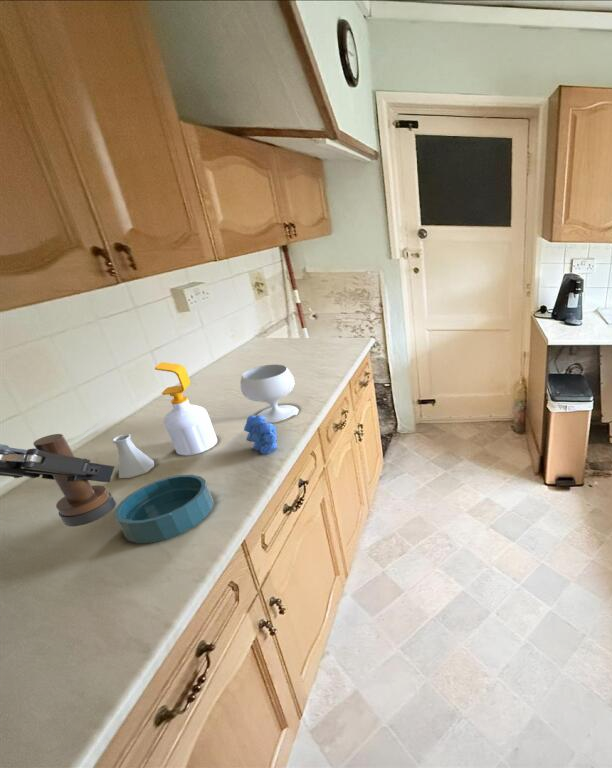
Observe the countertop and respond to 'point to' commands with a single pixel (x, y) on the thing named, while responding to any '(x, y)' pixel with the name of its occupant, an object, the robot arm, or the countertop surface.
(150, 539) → the bowl
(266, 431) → the grapes
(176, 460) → the countertop surface
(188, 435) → the soap bottle
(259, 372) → the chalice
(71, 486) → the dish brush
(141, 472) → the flask
